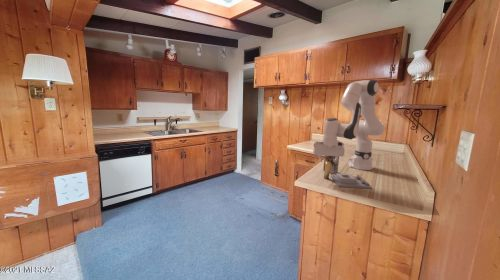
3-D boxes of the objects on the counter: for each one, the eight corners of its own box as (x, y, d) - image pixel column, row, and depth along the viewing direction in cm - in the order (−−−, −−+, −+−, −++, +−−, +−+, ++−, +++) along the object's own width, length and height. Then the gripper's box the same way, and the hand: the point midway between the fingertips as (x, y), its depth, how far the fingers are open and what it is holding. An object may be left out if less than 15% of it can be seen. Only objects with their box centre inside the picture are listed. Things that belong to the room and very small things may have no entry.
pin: (323, 177, 148) (325, 161, 146) (328, 177, 148) (329, 161, 145) (324, 179, 145) (326, 162, 143) (329, 179, 144) (330, 162, 142)
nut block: (330, 176, 150) (331, 171, 149) (359, 178, 148) (360, 172, 147) (338, 186, 132) (339, 180, 131) (371, 188, 130) (372, 182, 129)
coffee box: (338, 172, 160) (340, 152, 157) (333, 174, 156) (336, 153, 153) (327, 169, 167) (328, 149, 164) (322, 170, 163) (324, 150, 160)
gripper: (315, 142, 139) (313, 162, 141) (346, 143, 138) (344, 163, 140) (313, 140, 145) (311, 159, 147) (342, 142, 144) (340, 161, 146)
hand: (327, 161), depth 144 cm, fingers open, 8 cm apart
